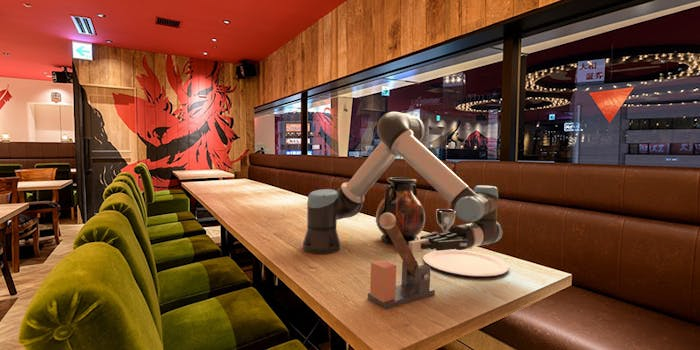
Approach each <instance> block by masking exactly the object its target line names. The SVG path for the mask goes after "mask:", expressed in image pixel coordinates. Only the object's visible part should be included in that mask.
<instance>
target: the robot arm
mask: <svg viewBox="0 0 700 350" xmlns="http://www.w3.org/2000/svg"><path fill="white" fill-rule="evenodd" d="M376 131H377V135H378V138H379V139H380V142H379V143H378V145H377V146H376V147H375V149H374V150H373V151H372V152H371V153H370V155H369V156H368V157H367V158H366V159H365V161H364V162H363V163H362V165H361V166H360V167H359V168H358V170H357V171H356V172H355V173H354V175H353V176H352V177H351V178H350V180H349V181H346V182H342V184H341V185H340V186H339V188H338V189H337V190H335V189H333V188H332V189H330V188H325V189H324V188H323V189H317V190H313V191H311V192H310V193H309V194H308V196H307V204H306V205H307V210H306V211H307V221H306V222H307V223H306V224H307V225H306V226H307V227H306V228H307V229H306V233H305V236H304V238H303V241H302V250H303V251H304V252H305V253H310V254H317V255H327V254H333V253H337V252H339V251H340V250H341V242H340V238H339V235H338V230H337V223H338V222H337V220H343V219H346V218H347V219H348V218H349V219H350V218H352V217H354V216H356V215H358V214H359V213H360V212H361V211H362V208H363V206H364V205H363V203H364V202H365V201H366V200H365V195H366V194H367V193H368V192H369V190H370V189H371V188H372V187H373V186H374V185H375V183H376V182H377V181H378V180H379V179H380V178H381V176H382V175H383V174H384V172H386V170H387V169H388V168H389V167H390V166H391V165H392V163H393V162H394V161H395V159H397V157H399V156H400V157H401V158H403V160H405V161H406V163H407V164H408V165H410V166H411V168H413V169H414V170H415V171H416V172H417V173H418V174H419V175H420V176H421V177H422V178H423V179H424V180H426V182H427V183H428V184H429V185H430V186H432V188H434V189H435V190H436V191H437V192H438V193H439V194H440V195H441V196H442V197H443V198H444V199H445V200H446V201H447V202H448V203H449V204H450V205H452V206H453V208H454V210H455V215H456V216H457V217H458V219H460V220H461V221H462V222H466V223H463V224H460V225H459V224H458V225H454V226H451V227H450V228H449V229H448V231H447V232H445V233H443V232H441V233H438V232H437V231H436V230H434V231H432V232H430V233H427V234H424V235H421V236H419V237H420V238H419V239H418V240H415V241H410V242H409V245H408V247H409V249H410V250H411V252H412V253H416V252H421V251H427V250H435V251H440V250H463V251H465V250H467V249H469V250H471V249H472V248H475V247H480V246H485V245H491V244H495V243H496V242H498V241H500V239H502V237H503V229H502V226H501V224H500V223H499V222H498V220H497V216H498V204H499V203H498V201H499V189H498V187H496V186H494V185H476V186H475V185H474V187H473V188H474V189H472V188H470V187H469V185H468V184H467V183H465V182H464V181H463V180H462V179H461V178H460V177H459V176H457V174H455V172H454V171H452V170H451V169H450V168H449V167H448V166H447V165H446V164H444V163H443V161H441V160H440V159H439V158H438V157H437V156H436V155H434V154H433V152H431V151H430V150H429V149H428V148H427V147H426V146H425V145H424V144H423V143H421V142H422V141H423V138H424V137H425V124H424V123H423V121H422V120H421V118H419V117H418V116H416V115H413V114H412V113H404V112H399V111H390V112H386V113H384V114H383V115H382V116H381V118H379V120H378V122H377V127H376Z"/></svg>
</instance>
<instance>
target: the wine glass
mask: <svg viewBox="0 0 700 350" xmlns="http://www.w3.org/2000/svg"><path fill="white" fill-rule="evenodd" d="M435 216H436V222H437V225H439V227H440V228H441V230H442V231H443V232H442V233H445V232H448V231H449V230H450V229H451V228H452V227H453V225H454V223H455V219H456V212H455V209H450V208H437V209H436V211H435Z"/></svg>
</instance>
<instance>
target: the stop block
mask: <svg viewBox="0 0 700 350" xmlns="http://www.w3.org/2000/svg"><path fill="white" fill-rule="evenodd" d="M370 263H371V264H370V287H369V288H370V290H369V291H370V292H369V293H370V295H372V296H373V297H375V298H377V299H378V300H380V301H382V302H387V301H390V300H394V299H395V289H396V286H397V285H396V283H397V265H395V264H394V263H391V262H389V261H387V260H384V259H381V260H375V261H371V262H370Z"/></svg>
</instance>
